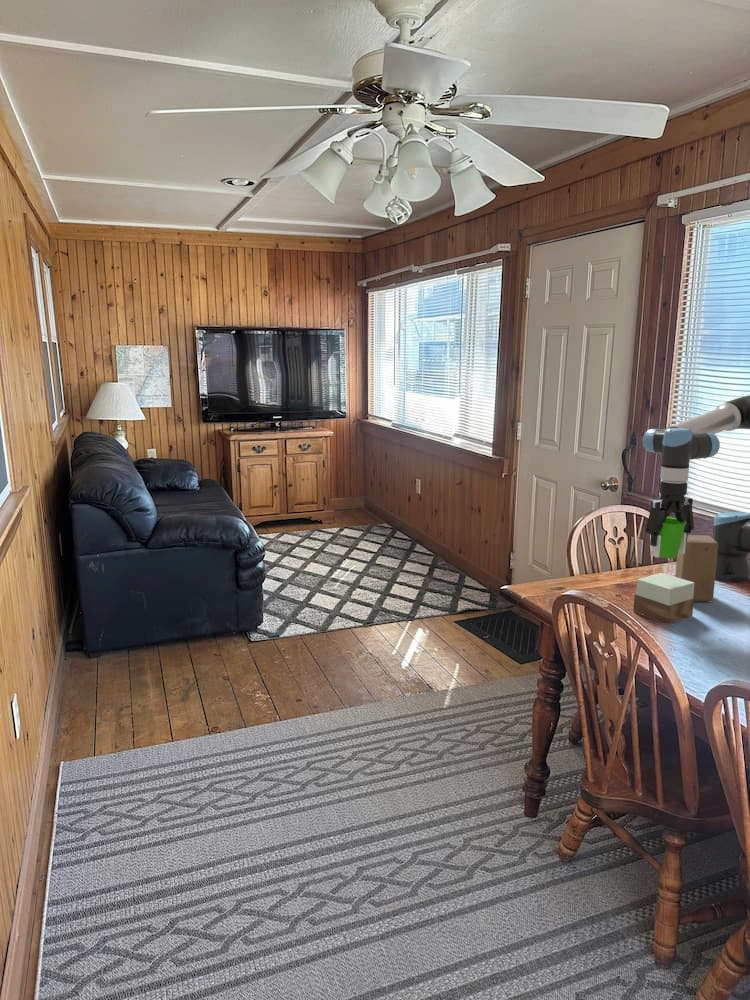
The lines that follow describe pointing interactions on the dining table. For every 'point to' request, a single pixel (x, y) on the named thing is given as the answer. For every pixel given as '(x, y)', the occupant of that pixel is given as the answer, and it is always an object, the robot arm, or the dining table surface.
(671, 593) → the tower top
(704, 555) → the wooden block
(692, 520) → the robot arm
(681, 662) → the dining table surface
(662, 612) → the tower base
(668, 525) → the cup
